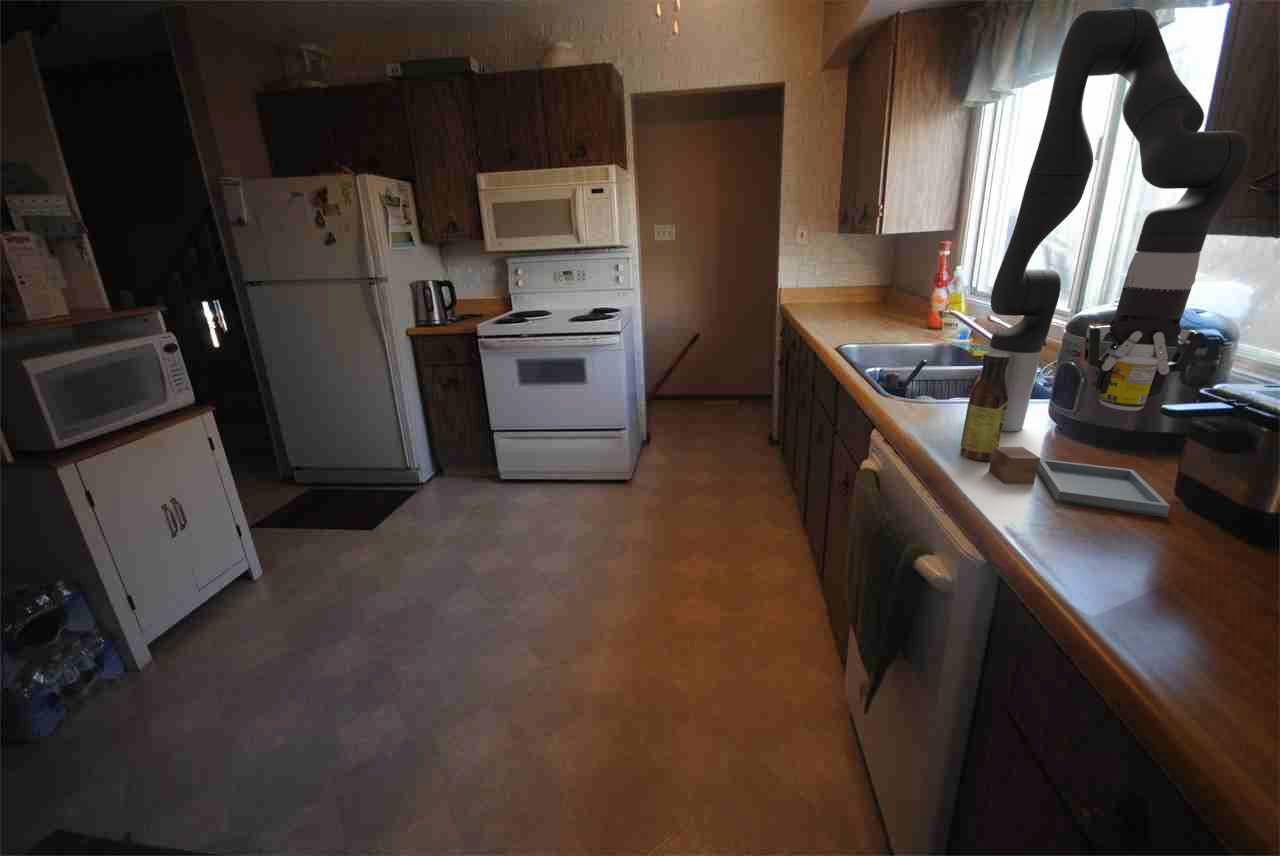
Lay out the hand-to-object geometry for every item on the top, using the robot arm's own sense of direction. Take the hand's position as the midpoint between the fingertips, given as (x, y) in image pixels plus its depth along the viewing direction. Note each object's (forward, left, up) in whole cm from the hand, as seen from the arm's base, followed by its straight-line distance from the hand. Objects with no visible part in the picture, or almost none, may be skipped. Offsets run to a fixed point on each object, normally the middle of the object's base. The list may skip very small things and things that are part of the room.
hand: (1123, 393), depth 88 cm
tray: (0, 0, -17) cm, 17 cm away
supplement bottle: (0, 0, -2) cm, 2 cm away
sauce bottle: (-10, -16, -17) cm, 25 cm away
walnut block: (-1, -12, -17) cm, 21 cm away
